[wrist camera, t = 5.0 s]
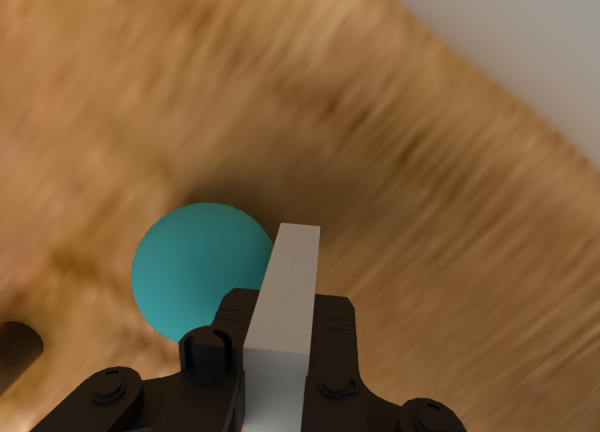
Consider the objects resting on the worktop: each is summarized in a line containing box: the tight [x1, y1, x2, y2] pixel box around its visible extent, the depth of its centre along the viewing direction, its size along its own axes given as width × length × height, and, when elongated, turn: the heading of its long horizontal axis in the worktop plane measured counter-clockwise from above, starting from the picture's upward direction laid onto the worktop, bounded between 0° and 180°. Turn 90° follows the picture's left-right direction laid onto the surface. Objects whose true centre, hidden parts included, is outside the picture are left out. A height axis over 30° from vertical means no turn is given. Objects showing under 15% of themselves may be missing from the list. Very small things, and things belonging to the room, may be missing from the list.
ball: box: [131, 202, 274, 343], centre depth 15 cm, size 6×6×6 cm
